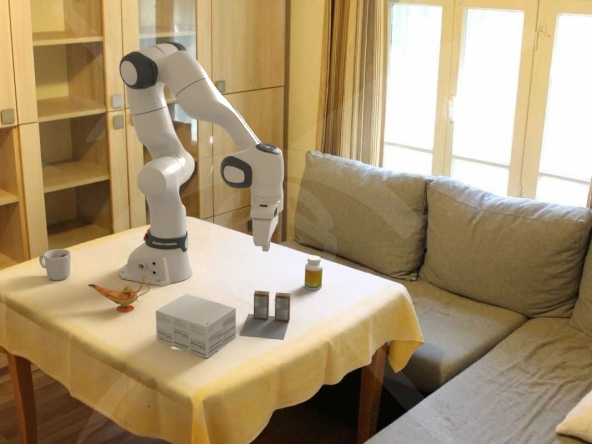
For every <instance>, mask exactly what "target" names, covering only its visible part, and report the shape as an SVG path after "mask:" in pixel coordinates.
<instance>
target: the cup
mask: <svg viewBox="0 0 592 444" xmlns="http://www.w3.org/2000/svg"><path fill="white" fill-rule="evenodd" d="M71 255H72V253H71V251H70V250H68V249H65V248H64V249H63V248H55V249H50V250H48V251H45V252H44V253H42V254H41V255H39V265H40V266H41V267H42V268H44V269H46V274H47V277H48V278H49V280H53V281H64V280H65V279H67V278H68V277H69V276H70V274H71Z"/></svg>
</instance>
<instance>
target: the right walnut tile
mask: <svg viewBox="0 0 592 444" xmlns="http://www.w3.org/2000/svg"><path fill="white" fill-rule="evenodd" d="M291 295H292V294H291V293H287V292H276V293H275V296H274V316H275V321H278V322H289V323H290V319H291Z"/></svg>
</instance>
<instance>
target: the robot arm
mask: <svg viewBox="0 0 592 444" xmlns="http://www.w3.org/2000/svg"><path fill="white" fill-rule="evenodd" d="M118 70H119V74H120V78H121V80H122V81H123V83H124V84H125V92H126V98H127V104H128V109H129V110H128V111H129V113H130V116H131V119H132V123H133V124H132V125H133V127H134V131H135V133H136V138H137V139H138V142H139V143H141V144H143V146H144V147H146V149H147V151H148V153H149V154H150V156H151V159H152V160H150V161H148V162H146V163H145V164H144V165H143V167H142V168H141V169H140V170H139V172H138V173H137V177H136V182H137V183H136V184H137V187H138V189H139V191H140V192H141V193H142V194H143V195H144V197H145V198H146V203H147V206H148V210H149V224H150V225H149V228H148V229H147V230H146V232H145V234H144V236H143V237H142V238H143V239H142V240H143V241H144V242H143V243H141V244H140V245H139V246H137V247H136V248H135V249H133V250H132V251H131V252H130V254H129V255H128V257H127V262H126V264H124V265H123V266H122V268H121V269H120V270H119V278H120V279H122V280H128V281H132V282H139V283H142V282H143V283H142V284H144V281H145V282H146V283H147V284H148V285H149V284H150V285H155V286H160V287H163V286H167V285H169V284H173V283H178V282H179V283H180V282H182V281H185V280H187V279H189V278H190V277H191V276H192V275H193V270H192V267H191V263H190V258H189V254H188V248H189V233H188V230H187V210H186V207H185V205H184V204H183V203H182V200H181V197H180V187H181V185H183V184H184V183H186V182H187V181H188V180H190V177H191V176H192V175H193V172H194V170H195V165H196V163H195V160H194V158H193V156H192V154H191V153H190V152H188V151H187V150H186V148H184V146H183V145H182V143H181V141H180V138H179V137H178V135H177V132H176V130H175V127H174V123H173V121H172V117H171V115H170V111H169V110H170V109H169V107H168V105H167V104H168V103H167V100H166V98H165V93H164V87H165V86H167V87H168V88H169V90H170V92H171V93H172V95H173V97H174V98H175V100H176V102H177V104H178V105H179V107H180V109H181V110H182V111H183V112H184V113H185V114H186V115H187V116H188V117H189V118H191V119H193V120H196V121H200V122H205V123H206V122H208V123H211V124H214V125H216V126H219V127H220V128H221V129H223V130H224V131H225V132H226V133H227V135H228V136H229V137H230V139H231V141H232V142H233V143H234V145H235V146H236V147H237V148H238V150H239V151H236V152H234V153H232V154H228V155H227V156H225V157H224V158H223V159H222V160H221V162H220V167H219V170H220V171H219V172H220V176H221V178H222V180H223V182H224V183H225V185H227V187H229V188H232V189H248V188H249V189H250V190H251V191H250V195H251V196H250V211H249V213H250V215H249V217H250V218H252V222H251V223H252V225H251V227H252V241H253V244H254V246H256V247H261V250H262V252H267V253H268V252H269V250H270V249H271V240H272V236H273V233H274V232H275V230H276V227H277V225H278V223H279V213H281V212H282V211H283V210H284V189H283V182H284V179H285V164H284V163H285V162H284V155H283V151H282V150H281V148H279V147H278V146H277V145H274V144H271V143H265V142H262V141H261V140H260V139H259V138H258V136H257V135H256V134H255V133H254V132H253V130H252V129H251V127H250V126H249V124H248V123H247V122H246V121H245V119H244V118H243V116H242V115H241V114H240V113H239V110H237V108H236V107H235V106H234V105H233V104H232V103H231V102H230V101H229V100H227V98H225V97H224V96H223V95H222V93H221V91H219V90H218V89H217V87H216V85H214V83H213V81H212V80H211V78H210V76H209V75H208V73H207V72H206V69H204V68H203V66H202V65H201V64H200V62H199V60H197V59H196V57H194V55H193V54H192V53H191V52H189V51H188V49H187V48H186V47H185V46H184V45H183V44H181V43H180V42H175V41H173V42H172V41H166V42H164V43H159V44H158V43H157V44H151V45H148V46H147V47H144V48H141V49H139V50H135V51H131V52H129V53H126V54H125V55H124V56H123V57H122V58H121V59H120V61H119V69H118ZM145 275H146V278H147V280H146V278H144V281H142V278H143V277H144V276H145ZM141 276H142V278H141Z"/></svg>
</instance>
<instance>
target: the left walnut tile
mask: <svg viewBox="0 0 592 444" xmlns="http://www.w3.org/2000/svg"><path fill="white" fill-rule="evenodd" d="M253 314H254V319H256V320H267V321H268V318H269V316H270V315H269V314H270V291H265V290H263V291H262V290H254V293H253Z"/></svg>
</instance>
